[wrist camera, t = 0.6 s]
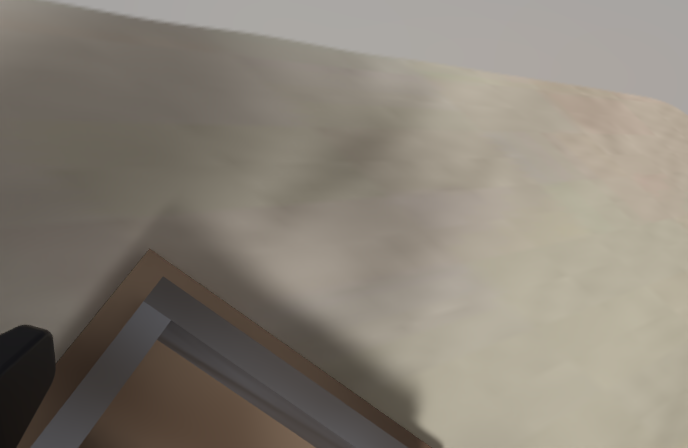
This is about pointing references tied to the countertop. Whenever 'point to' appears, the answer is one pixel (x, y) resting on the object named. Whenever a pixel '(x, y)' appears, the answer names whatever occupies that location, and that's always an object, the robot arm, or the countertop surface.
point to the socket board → (195, 380)
